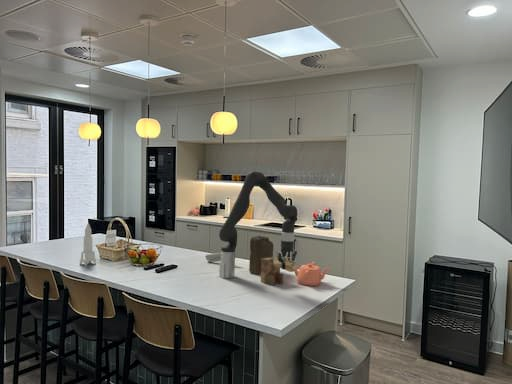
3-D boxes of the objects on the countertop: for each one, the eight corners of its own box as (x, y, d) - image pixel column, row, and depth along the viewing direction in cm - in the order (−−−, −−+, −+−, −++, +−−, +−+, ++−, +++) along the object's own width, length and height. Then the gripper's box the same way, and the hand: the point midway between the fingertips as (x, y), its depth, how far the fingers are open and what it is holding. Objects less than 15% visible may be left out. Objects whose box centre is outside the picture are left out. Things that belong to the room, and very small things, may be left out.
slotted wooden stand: (269, 286, 230) (270, 262, 229) (259, 281, 238) (260, 258, 237) (285, 283, 237) (286, 259, 236) (275, 279, 246) (276, 256, 245)
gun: (236, 265, 274) (233, 251, 274) (207, 268, 284) (204, 255, 284) (237, 264, 276) (235, 250, 276) (208, 267, 286) (206, 254, 287)
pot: (314, 278, 251) (315, 259, 250) (329, 285, 235) (329, 266, 234) (290, 280, 244) (290, 261, 243) (303, 288, 228) (304, 268, 227)
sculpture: (96, 263, 269) (96, 222, 267) (85, 266, 262) (85, 223, 260) (90, 262, 272) (90, 221, 271) (79, 264, 265) (79, 222, 264)
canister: (257, 275, 253) (258, 238, 251) (247, 273, 258) (248, 237, 256) (273, 270, 267) (274, 235, 266) (264, 268, 273) (265, 234, 271)
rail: (290, 272, 212) (290, 263, 212) (272, 264, 226) (273, 256, 226) (295, 271, 214) (295, 262, 214) (277, 264, 228) (277, 256, 228)
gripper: (281, 241, 210) (280, 271, 211) (301, 239, 218) (299, 268, 219) (273, 239, 216) (272, 268, 217) (292, 237, 224) (291, 265, 225)
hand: (286, 268), depth 218 cm, fingers closed on rail, 3 cm apart
